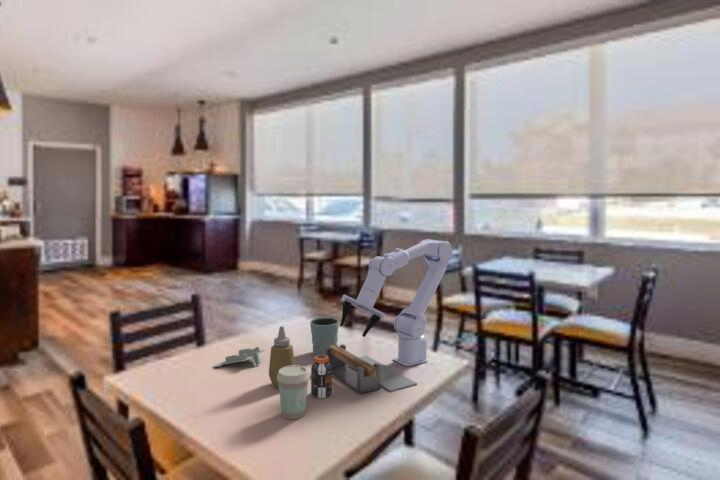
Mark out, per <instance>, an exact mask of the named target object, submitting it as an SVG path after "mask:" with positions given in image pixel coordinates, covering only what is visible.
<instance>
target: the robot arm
mask: <svg viewBox="0 0 720 480" xmlns="http://www.w3.org/2000/svg"><path fill="white" fill-rule="evenodd" d="M453 252H454V251H453V246H452V245H451V242H449V241H447V240H437V239H431V238H426V239H423V240H421V241H420V242H418V243H417V244H415V245H413V246H410V247H409V248H407V249H405V250H404V249H403V248H398V247H397V248H394V251H391V252H389V253H388V252H387V253H386V252H385V253H384V254H383V255H382V256H379V255H378V256H374V257H373V258H372V259H370V260H369V262H368V271H367V275H366V277H365V280H364V282H363V285H362V287H361V289H360V290H359V294H358V296H357V298H353V297H351V296H349V295H346V294H343V295H342V296H341V298H340V301H341V302H343V303H342V314H341V321H340V323H339V326H340V327H343V326H344V325H345V322H346V320H347V317H348V314H349V312H350V311H351V308H352V306H353V307H355V308H357V309H359V310H362V311H363V312H365V313H367V314H369V315H371V316H370V317H369V319H368V322H367V324H366V326H365V328H364V331H363V332H362V335H361V337H363V338H366V335H368V333H369V331H370V330H371V329H372V328H373V327H374V326H376V324H377V323H378V322H379V321H380V320H381V321H382V320H384V318H385V316H386V313H385V312H382V311H380V310H378V309H376V308H374V306H375V304H376V301H377V300H378V297H379V295H380V293H381V290H382V287H383V286H384V284H385V281H386V278H387V276H392V275H393V274H394V272H395V270H398V269H400V268H402V267H404V266H406V265H408V264H409V261H410V260H412V259H416V258H417V257H421V256H423V258H424V260H425V262H426V265H428V268H429V269H428V270H427V272H426V274H425V276H424V278H423V279H422V281H421V284H420V285H419V288H418V289H417V291H416V293H415V295H414V297H413V299H412V302H411V303H410V305H409V306H408V307H405V308H403V309H402V310H401V312H400V313H399V314H398V315H397V316H396V317H395V319H394V322H393V328H394V330H395V331H396V334H397V336H398V338H397V339H398V342H397V344H398V345H397V346H398V347H397V349H398V350H397V357H393V358H392V361H394V362H397V363H399V364H400V365H402V366H405V367H411V366H414V365H419V364H424V363H428V361H429V360H428V359H427V343H428V342H427V340H426V337H425V335H423V334H424V333H425V329H426V324H427V322H428V320H427V317H426V315H425V314H426V313H425V312H426V310H427V308H428V306H429V305H430V302H431V301H432V299H433V296H434V294H435V293H436V290H437V289H438V286H439V285H440V282H441V280H442V279H443V277H444V275H445V273H446V271H447V266H448V265H449V262H450V260H451V258H452V256H453Z"/></svg>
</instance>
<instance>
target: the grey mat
mask: <svg viewBox="0 0 720 480" xmlns="http://www.w3.org/2000/svg"><path fill="white" fill-rule="evenodd" d="M358 357H359V358H360V359H362V360H364V361H366V362H367V363H369V364H371V365H373V366H374V364H375V363H378V364H380V387H382V388H383V389H385V390H387V392H390V393H392V392H396V391H398V390H404V389H407V388H410V387H414V386H417V385H418V382H416V381H414V380H412V379H410V378H409V377H407V376H405V375H403V374H402V373H400V372H398V371H396V370H394V369H392V368H391V367H389V366H386V365H385V364H383V363H381V362H379V361H377V360H376V359H374V358H372V357H370V356H368V355H363V356H358ZM346 366H347V367H349V368H351V369H352V370H354V371H355V372H357V370H356V369H354V368H353V367H351V366H349V365H348V364H346Z"/></svg>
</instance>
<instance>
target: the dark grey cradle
mask: <svg viewBox="0 0 720 480" xmlns="http://www.w3.org/2000/svg"><path fill="white" fill-rule="evenodd" d="M339 347H341V348H343V349H344V350H346V351H347V347H346V345H345V344H344V343H342V344H339ZM325 355H327V356H328V357H329V363H330V364H331V365H332V377H334V378H335V379H337V380H339V381H340V382H341V383H343V384H345V385H346V386H347V387H348V388H350V389H351V390H353V391H355V392H356V393H357V394H359V395H363V394H366V393H371V392H375V391H376V392H377V391H379V390H381V386H380V364H378V363H375V364H374V366H375V367H376V376H373V377H367V376H366V375H364V368H362V367H357V371H356V370H354V369H352V368H351V367H349V366H347V365H346V363H344V362H343V361H341V360H339V359H338V358H336V357H335V356H333V355H331V349H330V348H328V347H327V348H325Z"/></svg>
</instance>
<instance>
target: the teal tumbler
mask: <svg viewBox="0 0 720 480" xmlns="http://www.w3.org/2000/svg"><path fill="white" fill-rule="evenodd" d="M309 323H310V333H311V343H312V353H313V355H314V357H315V356H317V355H325V348H327V347H328V348H329V346H330V345H337V346H338V342H339V341H338V339H339V338H338V337H339V336H338V334H339V326H340V321H339V319H337V318H334V317H330V316H329V317H327V316H326V317H325V316H324V317H316V318H313V319H312V320H310V322H309Z"/></svg>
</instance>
